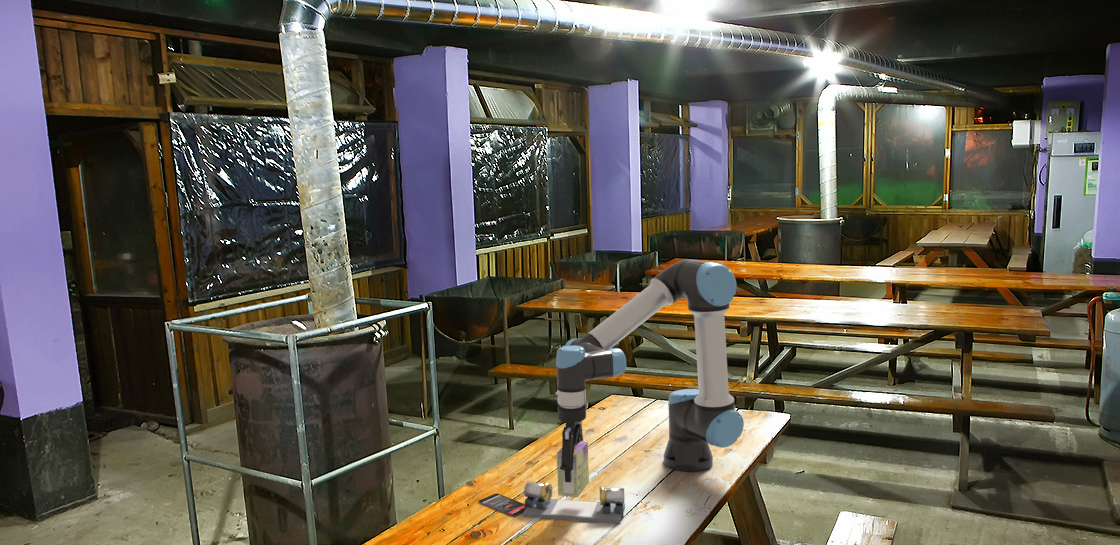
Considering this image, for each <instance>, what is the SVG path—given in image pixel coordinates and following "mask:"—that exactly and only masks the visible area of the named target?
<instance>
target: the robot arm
mask: <svg viewBox="0 0 1120 545" xmlns="http://www.w3.org/2000/svg"><path fill="white" fill-rule="evenodd" d="M737 286H738V285H737V280H736V277H735V275H734V273H733V271H732V270H731V269H730V268H729V267H727V266H726V265H725V264H720V263H717V262H714V261H706V260H697V259H691V258H690V259H689V258H688V259H683V260H680V261H677V262H675V263H673V264H672V265H670V266H668V267H666V268H665V269H663V270H662V271H660V272H659V273H658V274H657V275H655V276H654V277H653V278H651V279H650V281H649V285H648V286H647V287H645V288H644V289H643V290H642V291H640V292H639V293H638V294H637V295H635V296H634V297H633V298H631V299H630V300H629V301H627V302H626V303H625V304H624V305H622V306H621V307H620V308H618V309H617V310H616V311H615V312H613V313H612V314H611V315H609V317H606V319H604V320H603V321H602V322H601V323H599V324H598V325H597V326H596V327H594V328H593V329H592V330H590V331H589V332H587V333H586V334H585V335H584V336H582V337H581V338H573V339H569V340H568V341H567V342H566V343H565V345H564V346H561V347H559V348H558V349H557V350H556V358H555V359H556V362H555V366H556V387H557V391H556V392H555V396H557V404H558V406H557V418H558V420H559V421H561V422H563V423H565V426H563V429H562V431H561V435H562V436H561V438H562V440H561V443H562V445H561V448H562V460H561V467H560V469H561V470H563V485H564V493H573V494H574V469H573V454H574V448H575V444H576V443H577V442H580V441H584V435H583V424H582V421H584V420H585V419H587V406H586V403H587V390H586V382H588V381H593V380H600V379H607V378H614V377H618V376H621V375H624V374H625V372H626V369H627V357H626V355H625V353H624V351H623V350H622V349H620V348H618V347H617V348H614V346H616V345H617V344H618V343H619V342H621V341H622V340H624V339H625V338H626V337H627V336H628V335H630V334H631V333H632V332H634V330H636V329H637V328H638V327H640V326H641V325H642V324H643V323H645V322H646V321H647V320H649V319H650V318H651V317H653V316H654V315H656V313H658V312H659V311H660V310H661V309H662V308H664V307H665V306H673V304H674V303H676V302H677V301H680V300H682V299H683V300H684V299H685V300H686V299H687V310H688V311H689V312H690V314H692V315H693V319H694V336H695V350H696V369H697V385H698V388H685V389H677V390H674V391H672V392H670V394H669V395H668V404H667V405H668V440H667V444H666V446H665V449H664V453H663V464H664V465H665V467H668V468H670V469H672V470H676V471H682V472H699V471H700V472H701V471H704V470H708V469H709V468H711V467H712V466H713V464H714V462H713V460H714V457H713V454H712V449H711V447H710V446H713V447H717V448H722V449H725V448H729V447H731V446H733V445H734V444H735V443H736V442H737V441H738V439H739V438H741V435H742V433H743V431H744V428H745V426H744V425H745V422H744V418H743V415H742V414H740V412H739V411H737V410H736V408H735V407H736V406H735V398H734V396H733V395H732V394H730V393H729V392H730V391H729V375H728V358H727V357H728V356H727V340H726V339H727V338H726V323H725V320H726V319H725V313H727V311H728V310H730V303H731V302H732V301H733V299H734V297H735V295H736V293H737Z"/></svg>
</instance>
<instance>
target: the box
mask: <svg viewBox="0 0 1120 545" xmlns="http://www.w3.org/2000/svg"><path fill="white" fill-rule="evenodd" d="M588 443H589V442H588V441H584V440H583V441H580V442H577V443H576V444H575V448H574V454H573V469H574V494H573V493H564V485H563V470H561V469H560V467H561V460H562V447H561V448H560V449H559V450H558V451H557V452H556V467H557V470H556V471H557V473H556V474H557V495H558V496H562V497H571V498H579V496H580V495H581V493H582V492H583V491H584V489H585V488H587V486H588V485H589V483H590V482H589V481H590V474H589V473H590V471H589V470H590V469H589V468H590V467H589V446H588Z"/></svg>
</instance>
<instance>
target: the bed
mask: <svg viewBox="0 0 1120 545" xmlns="http://www.w3.org/2000/svg"><path fill="white" fill-rule="evenodd" d="M610 505H611V514H603V505H600V501H590V500H589V501H588V500H574V499H560V498H559V499H558V498H551V499H550V503H549V504H548V505H547V506H546V507H545V508H544V509H543V510H541V509H536V504H535V505H534V506H533V507H532V508H528V507H527V508H526V509H525V511H524V513H523V514H522V515H523V517H525V518H535V519H536V518H537V519H538V518H540V519H553V520H565V521H577V522H578V521H579V522H591V523H592V522H593V523H605V524H618V525H619V524H621V521H622V514H616V504H610ZM625 508H626V503H624V504H623V510H624V511H625Z"/></svg>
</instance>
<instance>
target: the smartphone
mask: <svg viewBox="0 0 1120 545" xmlns="http://www.w3.org/2000/svg"><path fill="white" fill-rule="evenodd" d="M477 502H478V504H480V505H482V506H484V507H488V508H490V509H492V510H494V511H497V512H499V513H502V514H504V515H506V516H509V517H512V518H517V517H519V516H521V515H523V513H524V511H525V503H523V502H521V501H518V500H516V499H512V498H510V497H508V496H505V495H504V494H503V495H502V494H500V493H493V494H491V495H488V496H486V497H484V498H481V499H479V500H478V501H477Z"/></svg>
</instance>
